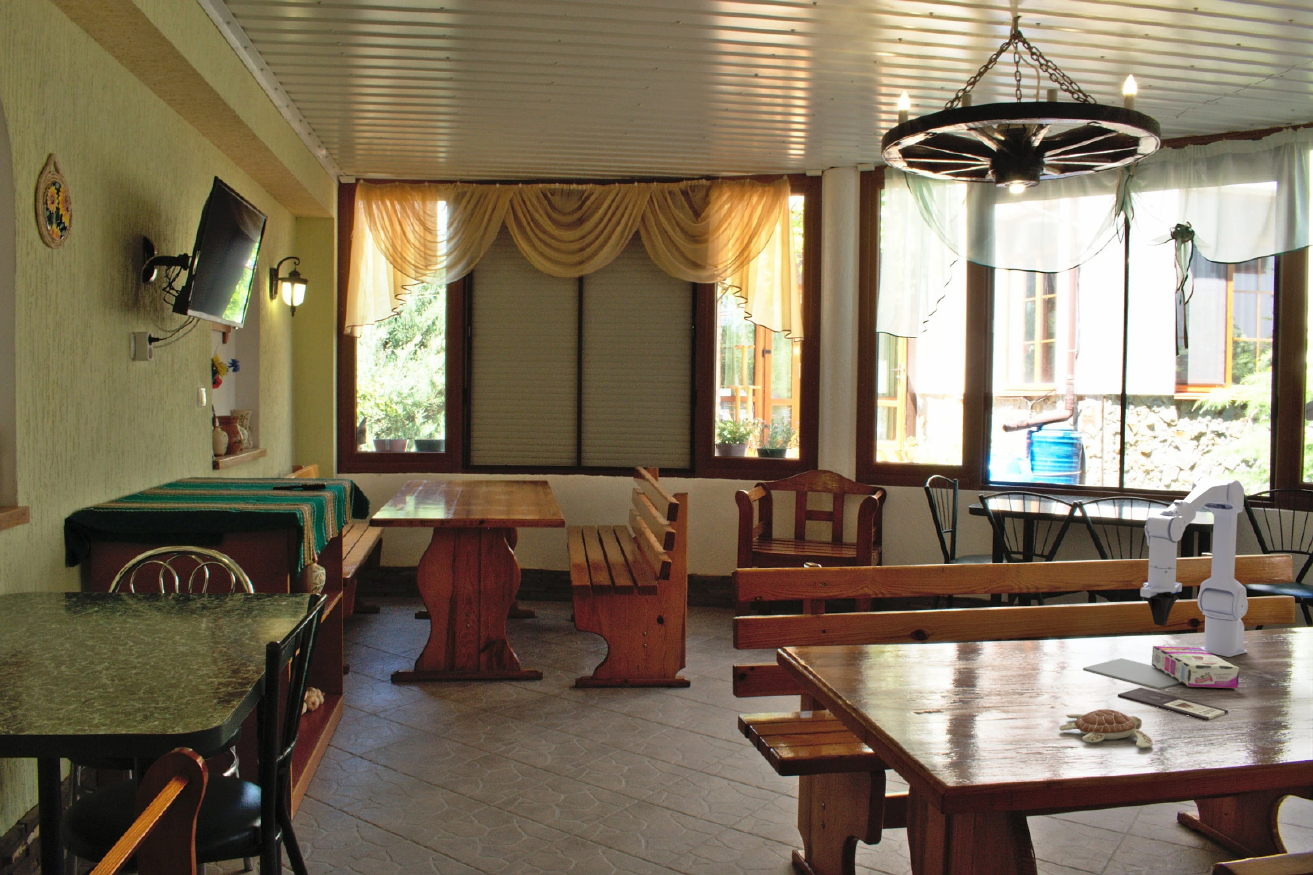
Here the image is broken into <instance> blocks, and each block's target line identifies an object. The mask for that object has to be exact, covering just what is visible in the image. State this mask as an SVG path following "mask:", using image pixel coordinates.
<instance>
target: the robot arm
mask: <svg viewBox="0 0 1313 875" xmlns="http://www.w3.org/2000/svg"><path fill="white" fill-rule="evenodd" d="M1244 501H1245V488H1244V487H1243V485H1242V483H1241V482H1240V481H1239V480H1236V479H1234V480H1230V479H1219V478H1216V479H1215V478H1205V477H1197V478H1196V479H1195V480H1194V481H1193V482H1192V485H1191V491H1190V493H1189V494H1188V495H1187V496H1186V497H1185V498H1184V499H1183V500H1182V499H1175V500H1174V501H1173V502H1172V503H1171V504H1170V505H1169V506H1168V507H1167V508H1165V509H1164V510H1163V511H1161V513H1159V514H1153V515H1151V516H1149V517H1148V518H1147V519H1146V522H1145V525H1144V534H1145V536H1146V545H1147V546H1148V548H1149V549H1148V551H1149V552H1148V569H1147V570H1148V571H1147V572H1148V573H1147V574H1148V575H1147V582H1143V584H1142V586H1143V587H1140V593H1139V594H1140V597H1142V598H1145V600H1146V601H1147V603H1148V606H1149V608H1150V611H1151V615H1152V619H1153V624H1154V625H1156V626H1160V627H1161V626H1162V627H1164V626H1166V625H1167V623H1168V620H1169V617H1170V613H1171V611H1172V608H1173V607H1174V604H1175V603H1176V602H1177V601H1178V598H1179V597H1178V595H1177V594H1173V593H1175V592H1182V590H1183V589H1182V588H1183V583H1181V582H1177V581H1176V580H1177V579H1176V578H1177V558H1178V557H1177V556H1178V555H1177V554H1178V553H1177V552H1178V541H1180V540H1182V537H1183V536H1184V535H1183V534H1184V532H1185V530H1186V527H1187V526H1188V525H1189V524H1190V523H1191V522H1193V521H1194V520H1195V519H1196V516H1197V511H1199V510H1200V509H1201V508H1204V509H1207V510H1209V511H1210V512H1211V514H1212V515H1213V529H1212V530H1213V532H1212V547H1211V548H1212V551H1211V569H1210V570H1211V571H1210V572H1211V573H1210V577H1209V578H1207V579H1205V580H1203V581H1202V582H1201V583H1200V587H1199V593H1198V595H1197V602H1196V603H1197V606H1198V608H1199V611H1201V612H1202V615H1203V616H1205V618H1204V641H1203V646H1199V647H1198V648H1201V649H1203V650H1205V651H1207V652H1209V653H1211V654H1213V655H1217V656H1222V657H1228V658H1231V657H1235V656H1238V655H1242V654H1245V653H1248V650H1247V649H1244V647H1245V646H1244V642H1245V641H1244V640H1245V625H1244V622H1243V621H1242V619H1243V617H1245V615H1247V612H1248V609H1249V608H1248V607H1249V602H1248V597H1247V588H1246V587H1245V586H1244V585H1243V584H1242V583H1240V582H1239V581H1238V580H1237V579H1236V578H1235V572H1236V571H1235V568H1236V567H1235V566H1236V548H1237V526H1238V514H1239V513H1243V511H1244V505H1245V504H1244Z"/></svg>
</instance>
